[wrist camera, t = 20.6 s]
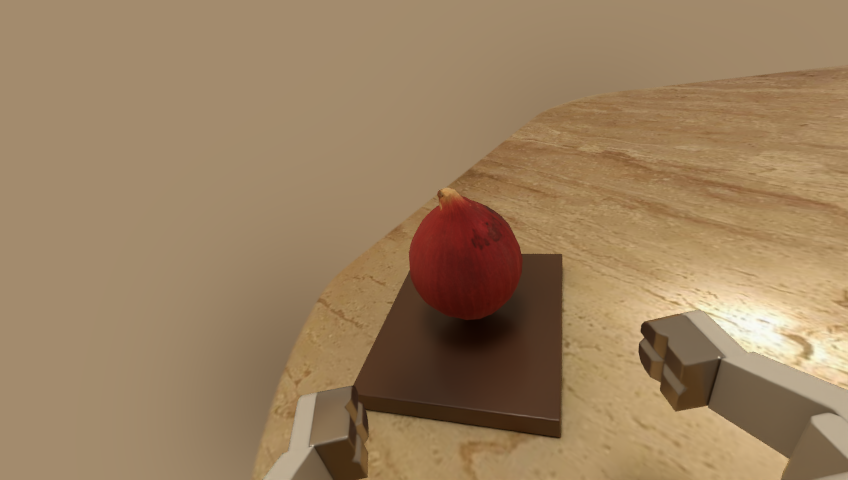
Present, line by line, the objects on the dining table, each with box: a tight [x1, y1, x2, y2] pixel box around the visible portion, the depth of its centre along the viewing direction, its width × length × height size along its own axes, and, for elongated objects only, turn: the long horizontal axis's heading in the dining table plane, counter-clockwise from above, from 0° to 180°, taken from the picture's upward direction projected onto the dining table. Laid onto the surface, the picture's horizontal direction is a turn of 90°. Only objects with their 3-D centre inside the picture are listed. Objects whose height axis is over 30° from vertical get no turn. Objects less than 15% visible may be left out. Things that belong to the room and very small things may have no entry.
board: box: [353, 254, 562, 437], centre depth 24 cm, size 10×12×1 cm
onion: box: [409, 188, 523, 320], centre depth 21 cm, size 6×6×8 cm
